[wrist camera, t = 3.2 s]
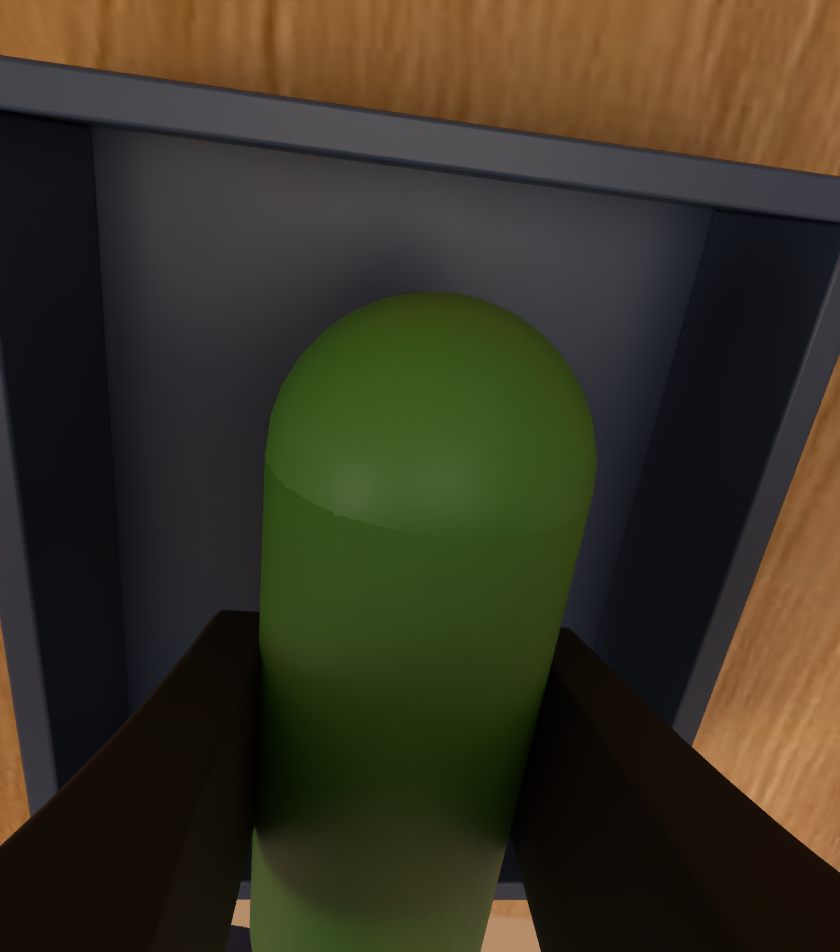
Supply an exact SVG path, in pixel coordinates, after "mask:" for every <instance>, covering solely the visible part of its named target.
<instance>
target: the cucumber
mask: <svg viewBox="0 0 840 952" xmlns="http://www.w3.org/2000/svg"><path fill="white" fill-rule="evenodd" d="M596 468H597V460H596V447H595V435H594V423H593V420H592V416H591V413H590V410H589V407H588V403H587V400H586V397H585V394H584V391H583V389H582V388H581V386H580V384H579V382H578V381H577V379H576V377H575V375H574V373H573V372H572V370H571V368H570V366H569V364H568V363H567V362H566V360H565V359H564V358H563V357H562V355H561V354H560V353H559V352H558V351H557V350H556V349H555V347H554V346H553V345H552V344H551V343H550V342H549V341H548V340H547V338H546V337H545V336H544V335H543V334H542V333H540V332H539V331H538V330H536V329H535V328H533V327H532V326H531V325H529V324H528V323H527V322H525V321H524V320H523V319H521V318H520V317H518V316H517V315H516V314H514V313H512V312H510V311H508V310H506V309H503V308H501V307H499V306H496V305H494V304H492V303H489V302H487V301H485V300H482V299H480V298H476V297H472V296H468V295H463V294H457V293H449V292H438V291H425V292H417V293H410V294H403V295H396V296H390V297H387V298H384V299H381V300H379V301H376V302H374V303H371V304H368V305H366V306H363V307H360V308H358V309H356V310H354V311H352V312H351V313H349V314H348V315H346V316H345V317H343V318H342V319H340V320H339V321H337V322H336V323H334V324H332V325H331V326H329V327H328V328H326V329H325V330H324V331H323V332H322V333H321V334H320V335H319V336H318V337H317V338H316V339H315V341H314V342H313V343H312V344H311V345H310V346H309V347H308V348H307V349H306V350H305V351H304V352H303V353H302V354H301V356H300V357H299V359H298V360H297V362H296V363H295V365H294V366H293V368H292V370H291V371H290V373H289V374H288V376H287V377H286V379H285V381H284V382H283V384H282V386H281V388H280V391H279V394H278V396H277V399H276V402H275V404H274V407H273V410H272V412H271V416H270V423H269V430H268V437H267V444H266V450H265V469H264V500H263V531H262V562H261V592H260V623H259V645H260V675H259V704H258V734H257V764H256V793H255V823H254V830H253V839H252V870H251V901H250V938H251V945H252V951H253V952H480V951H481V946H482V943H483V939H484V935H485V931H486V927H487V923H488V918H489V914H490V910H491V906H492V902H493V898H494V894H495V890H496V886H497V882H498V878H499V874H500V870H501V866H502V862H503V858H504V854H505V850H506V846H507V842H508V837H509V833H510V829H511V825H512V821H513V817H514V813H515V809H516V805H517V801H518V797H519V793H520V789H521V785H522V781H523V777H524V773H525V769H526V765H527V761H528V757H529V752H530V748H531V744H532V740H533V736H534V732H535V728H536V724H537V720H538V716H539V712H540V708H541V704H542V700H543V696H544V692H545V688H546V684H547V680H548V676H549V672H550V667H551V663H552V659H553V655H554V651H555V647H556V643H557V639H558V635H559V631H560V627H561V623H562V619H563V615H564V611H565V607H566V603H567V599H568V595H569V591H570V587H571V582H572V578H573V574H574V570H575V566H576V562H577V558H578V554H579V550H580V546H581V542H582V538H583V534H584V530H585V526H586V522H587V518H588V514H589V510H590V506H591V501H592V497H593V491H594V483H595V476H596Z"/></svg>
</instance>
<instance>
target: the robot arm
mask: <svg viewBox="0 0 840 952" xmlns="http://www.w3.org/2000/svg"><path fill="white" fill-rule="evenodd" d="M259 623H260V612H255V611H236V610H220V611H219V612H218V613H217V614H215V615H214V616H213V617H212V618H211V619H210V620H209V622H208V623H207V624H206V626H205V627H204V629H203V630H202V631H201V633H200V634H199V635H198V636H197V638H196V639H195V640H194V642H193V643H192V644H191V646H190V647H189V648H188V649H187V651H186V652H185V653H184V654H183V656H182V657H181V658H180V659H179V661H178V662H177V663H176V664H175V665H174V667H173V668H172V669H171V670H170V671H169V673H168V674H167V675H166V676H165V677H164V679H163V680H162V681H161V682H160V683H159V685H158V686H157V687H156V688H155V689H154V690H153V691H152V692H151V694H150V695H149V696H148V697H147V698H146V699H145V700H144V701H143V703H142V704H141V705H140V706H139V707H138V708H137V709H136V710H135V711H134V713H133V714H132V715H131V716H130V717H129V718H128V719H127V720H126V722H125V723H124V724H123V725H122V726H121V727H120V728H119V729H118V730H117V732H116V733H115V734H114V735H113V736H112V737H111V738H110V739H109V740H108V741H107V742H106V743H105V744H104V745H103V746H102V747H101V748H100V749H99V750H98V751H97V752H96V753H95V754H94V755H93V756H92V757H91V758H90V759H89V760H88V761H87V762H86V763H85V764H84V766H83V767H82V768H81V769H80V770H79V771H78V772H77V773H76V774H75V775H74V776H73V777H72V778H71V779H70V780H69V781H68V782H67V783H66V784H65V785H64V786H63V787H62V788H61V789H60V790H59V791H58V792H57V793H56V794H55V795H54V796H53V797H52V798H51V799H50V800H49V801H48V802H47V803H46V804H45V805H44V806H43V807H42V808H40V809H39V810H38V811H37V812H36V813H35V814H34V815H33V816H32V817H31V818H30V819H29V820H28V821H27V822H26V823H25V824H23V825H22V826H21V827H20V828H19V829H18V830H17V831H16V832H15V833H14V834H13V835H12V836H11V837H10V838H8V839H7V840H6V841H5V842H4V843H3V844H2V845H1V846H0V952H224V951H225V947H226V943H227V939H228V934H229V930H230V926H231V922H232V918H233V913H234V910H235V905H236V901H237V897H238V893H239V889H240V885H241V880H242V876H243V872H244V868H245V864H246V859H247V855H248V851H249V847H250V842H251V838H252V834H253V830H254V823H255V793H256V764H257V734H258V704H259V675H260V645H259ZM510 835H511V839H512V843H513V847H514V851H515V855H516V859H517V863H518V866H519V870H520V874H521V878H522V882H523V886H524V890H525V893H526V897H527V901H528V905H529V908H530V912H531V916H532V920H533V923H534V927H535V930H536V935H537V938H538V942H539V945H540V949H541V952H840V872H838V871H837V870H836V869H834V868H833V867H832V866H831V865H829V864H828V863H827V862H825V861H824V860H823V859H821V858H820V857H819V856H818V855H816V854H815V853H814V852H813V851H811V850H810V849H809V848H808V847H806V846H805V845H804V844H803V843H801V842H800V841H799V840H798V839H797V838H795V837H794V836H793V835H792V834H790V833H789V832H788V831H787V830H786V829H784V828H783V827H782V826H781V825H780V824H778V823H777V822H776V821H775V820H774V819H773V818H771V817H770V816H769V815H768V814H767V813H766V812H764V811H763V810H762V809H761V808H760V807H759V806H758V805H756V804H755V803H754V802H753V801H752V800H751V799H749V798H748V797H747V796H746V795H745V794H744V793H743V792H741V791H740V790H739V789H738V788H737V787H736V786H734V785H733V784H732V783H731V782H730V781H729V780H727V779H726V778H725V777H724V776H723V775H722V774H721V773H720V772H719V771H718V770H716V769H715V768H714V767H713V766H712V765H711V764H710V763H709V762H708V761H707V760H705V759H704V758H703V757H702V756H701V755H700V754H699V753H698V752H697V751H696V750H695V749H694V748H692V747H691V746H690V745H689V744H688V743H687V742H686V741H685V740H684V739H683V738H682V737H681V736H680V735H679V734H678V733H677V732H675V731H674V730H673V729H672V728H671V727H670V726H669V725H668V724H667V723H666V722H665V721H664V720H663V719H662V718H661V717H660V716H659V715H658V714H657V713H656V712H655V711H654V710H653V709H652V708H651V707H650V706H648V705H647V704H646V703H645V702H644V701H643V700H642V699H641V698H640V697H639V696H638V695H637V694H636V693H635V692H634V691H633V690H632V689H631V688H630V687H629V686H628V685H627V684H626V683H625V682H624V681H623V680H622V679H621V678H620V677H619V676H618V675H617V674H616V673H615V672H614V671H613V670H612V669H611V668H610V667H609V666H608V665H607V664H606V663H605V662H604V661H603V660H602V659H601V658H600V657H599V656H598V655H597V654H596V653H595V652H594V651H593V650H592V649H591V648H590V647H589V646H588V645H587V644H586V643H585V642H584V641H583V640H582V639H581V638H580V637H578V636H577V635H576V634H575V633H574V632H573V631H572V630H571V629H570V628H563V627H560V631H559V635H558V639H557V643H556V647H555V651H554V655H553V659H552V663H551V667H550V672H549V676H548V680H547V684H546V688H545V692H544V696H543V700H542V704H541V708H540V712H539V716H538V720H537V724H536V728H535V732H534V736H533V740H532V744H531V748H530V752H529V757H528V761H527V765H526V769H525V773H524V777H523V781H522V785H521V789H520V793H519V797H518V801H517V805H516V809H515V813H514V817H513V821H512V825H511V829H510Z"/></svg>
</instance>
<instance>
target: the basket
mask: <svg viewBox="0 0 840 952" xmlns="http://www.w3.org/2000/svg"><path fill="white" fill-rule="evenodd" d="M425 291H438V292H449V293H457V294H463V295H468V296H472V297H476V298H480V299H482V300H485V301H487V302H489V303H492V304H494V305H496V306H499V307H501V308H503V309H506V310H508V311H510V312H512V313H514V314H516V315H517V316H518V317H520V318H521V319H523V320H524V321H525V322H527V323H528V324H529V325H531V326H532V327H533V328H535V329H536V330H538V331H539V332H540V333H542V334H543V335H544V336H545V337H546V338H547V340H548V341H549V342H550V343H551V344H552V345H553V346H554V347H555V349H556V350H557V351H558V352H559V353H560V354H561V355H562V357H563V358H564V359H565V360H566V362H567V363H568V364H569V366H570V368H571V370H572V372H573V373H574V375H575V377H576V379H577V381H578V382H579V384H580V386H581V388H582V389H583V391H584V394H585V397H586V400H587V403H588V407H589V410H590V413H591V416H592V420H593V423H594V435H595V447H596V460H597V468H596V476H595V483H594V491H593V497H592V501H591V506H590V510H589V514H588V518H587V522H586V526H585V530H584V534H583V538H582V542H581V546H580V550H579V554H578V558H577V562H576V566H575V570H574V574H573V578H572V582H571V587H570V591H569V595H568V599H567V603H566V607H565V611H564V615H563V619H562V623H561V627H563V628H570V629H571V630H572V631H573V632H574V633H575V634H576V635H577V636H578V637H580V638H581V639H582V640H583V641H584V642H585V643H586V644H587V645H588V646H589V647H590V648H591V649H592V650H593V651H594V652H595V653H596V654H597V655H598V656H599V657H600V658H601V659H602V660H603V661H604V662H605V663H606V664H607V665H608V666H609V667H610V668H611V669H612V670H613V671H614V672H615V673H616V674H617V675H618V676H619V677H620V678H621V679H622V680H623V681H624V682H625V683H626V684H627V685H628V686H629V687H630V688H631V689H632V690H633V691H634V692H635V693H636V694H637V695H638V696H639V697H640V698H641V699H642V700H643V701H644V702H645V703H646V704H647V705H648V706H650V707H651V708H652V709H653V710H654V711H655V712H656V713H657V714H658V715H659V716H660V717H661V718H662V719H663V720H664V721H665V722H666V723H667V724H668V725H669V726H670V727H671V728H672V729H673V730H674V731H675V732H677V733H678V734H679V735H680V736H681V737H682V738H683V739H684V740H685V741H686V742H687V743H688V744H689V745H690V746H691V747H692V745H693V742H694V739H695V737H696V734H697V731H698V729H699V726H700V723H701V721H702V718H703V715H704V713H705V710H706V707H707V705H708V702H709V699H710V697H711V694H712V691H713V689H714V686H715V683H716V681H717V678H718V675H719V673H720V670H721V667H722V665H723V662H724V659H725V657H726V654H727V651H728V649H729V646H730V643H731V641H732V638H733V635H734V633H735V630H736V627H737V625H738V622H739V619H740V617H741V614H742V611H743V609H744V606H745V604H746V601H747V598H748V596H749V593H750V590H751V588H752V585H753V582H754V580H755V577H756V574H757V572H758V569H759V566H760V564H761V561H762V558H763V556H764V553H765V550H766V548H767V545H768V542H769V540H770V537H771V534H772V532H773V529H774V526H775V524H776V521H777V518H778V516H779V513H780V510H781V508H782V505H783V502H784V500H785V497H786V494H787V492H788V489H789V486H790V484H791V481H792V478H793V476H794V473H795V470H796V468H797V465H798V462H799V460H800V457H801V454H802V452H803V449H804V446H805V444H806V441H807V438H808V436H809V433H810V430H811V428H812V425H813V422H814V420H815V417H816V414H817V412H818V409H819V406H820V404H821V401H822V398H823V396H824V393H825V390H826V388H827V385H828V382H829V380H830V377H831V374H832V372H833V369H834V366H835V364H836V361H837V358H838V356H839V353H840V176H833V175H826V174H819V173H812V172H805V171H798V170H791V169H784V168H777V167H771V166H764V165H757V164H750V163H743V162H736V161H729V160H722V159H715V158H708V157H701V156H694V155H688V154H681V153H674V152H667V151H660V150H653V149H646V148H639V147H632V146H625V145H618V144H611V143H605V142H598V141H591V140H584V139H577V138H570V137H563V136H556V135H549V134H542V133H535V132H528V131H521V130H515V129H508V128H501V127H494V126H487V125H480V124H473V123H466V122H459V121H452V120H445V119H438V118H432V117H425V116H418V115H411V114H404V113H397V112H390V111H383V110H376V109H369V108H362V107H355V106H348V105H342V104H335V103H328V102H321V101H314V100H307V99H300V98H293V97H286V96H279V95H272V94H265V93H259V92H252V91H245V90H238V89H231V88H224V87H217V86H210V85H203V84H196V83H189V82H182V81H176V80H169V79H162V78H155V77H148V76H141V75H134V74H127V73H120V72H113V71H106V70H99V69H92V68H86V67H79V66H72V65H65V64H58V63H51V62H44V61H37V60H30V59H23V58H16V57H9V56H3V55H0V621H1V627H2V634H3V640H4V647H5V653H6V660H7V666H8V673H9V679H10V686H11V692H12V699H13V705H14V712H15V718H16V725H17V731H18V738H19V744H20V751H21V758H22V764H23V771H24V777H25V784H26V790H27V797H28V803H29V810H30V816H31V817H32V816H33V815H34V814H35V813H36V812H37V811H38V810H39V809H40V808H42V807H43V806H44V805H45V804H46V803H47V802H48V801H49V800H50V799H51V798H52V797H53V796H54V795H55V794H56V793H57V792H58V791H59V790H60V789H61V788H62V787H63V786H64V785H65V784H66V783H67V782H68V781H69V780H70V779H71V778H72V777H73V776H74V775H75V774H76V773H77V772H78V771H79V770H80V769H81V768H82V767H83V766H84V764H85V763H86V762H87V761H88V760H89V759H90V758H91V757H92V756H93V755H94V754H95V753H96V752H97V751H98V750H99V749H100V748H101V747H102V746H103V745H104V744H105V743H106V742H107V741H108V740H109V739H110V738H111V737H112V736H113V735H114V734H115V733H116V732H117V730H118V729H119V728H120V727H121V726H122V725H123V724H124V723H125V722H126V720H127V719H128V718H129V717H130V716H131V715H132V714H133V713H134V711H135V710H136V709H137V708H138V707H139V706H140V705H141V704H142V703H143V701H144V700H145V699H146V698H147V697H148V696H149V695H150V694H151V692H152V691H153V690H154V689H155V688H156V687H157V686H158V685H159V683H160V682H161V681H162V680H163V679H164V677H165V676H166V675H167V674H168V673H169V671H170V670H171V669H172V668H173V667H174V665H175V664H176V663H177V662H178V661H179V659H180V658H181V657H182V656H183V654H184V653H185V652H186V651H187V649H188V648H189V647H190V646H191V644H192V643H193V642H194V640H195V639H196V638H197V636H198V635H199V634H200V633H201V631H202V630H203V629H204V627H205V626H206V624H207V623H208V622H209V620H210V619H211V618H212V617H213V616H214V615H215V614H217V613H218V612H219V611H220V610H236V611H255V612H260V592H261V562H262V531H263V500H264V469H265V450H266V444H267V437H268V430H269V423H270V416H271V412H272V410H273V407H274V404H275V402H276V399H277V396H278V394H279V391H280V388H281V386H282V384H283V382H284V381H285V379H286V377H287V376H288V374H289V373H290V371H291V370H292V368H293V366H294V365H295V363H296V362H297V360H298V359H299V357H300V356H301V354H302V353H303V352H304V351H305V350H306V349H307V348H308V347H309V346H310V345H311V344H312V343H313V342H314V341H315V339H316V338H317V337H318V336H319V335H320V334H321V333H322V332H323V331H324V330H325V329H326V328H328V327H329V326H331V325H332V324H334V323H336V322H337V321H339V320H340V319H342V318H343V317H345V316H346V315H348V314H349V313H351V312H352V311H354V310H356V309H358V308H360V307H363V306H366V305H368V304H371V303H374V302H376V301H379V300H381V299H384V298H387V297H390V296H396V295H403V294H410V293H417V292H425ZM252 839H253V834H252V838H251V842H250V847H249V851H248V855H247V859H246V864H245V868H244V872H243V876H242V880H241V885H240V889H239V893H238V897H237V899H251V870H252ZM493 900H527V897H526V893H525V890H524V886H523V882H522V878H521V874H520V870H519V866H518V863H517V859H516V855H515V851H514V847H513V843H512V839H511V835H510V833H509V837H508V842H507V846H506V850H505V854H504V858H503V862H502V866H501V870H500V874H499V878H498V882H497V886H496V890H495V894H494V898H493Z"/></svg>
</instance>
